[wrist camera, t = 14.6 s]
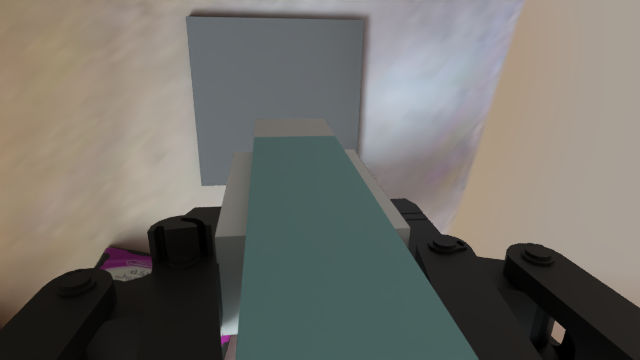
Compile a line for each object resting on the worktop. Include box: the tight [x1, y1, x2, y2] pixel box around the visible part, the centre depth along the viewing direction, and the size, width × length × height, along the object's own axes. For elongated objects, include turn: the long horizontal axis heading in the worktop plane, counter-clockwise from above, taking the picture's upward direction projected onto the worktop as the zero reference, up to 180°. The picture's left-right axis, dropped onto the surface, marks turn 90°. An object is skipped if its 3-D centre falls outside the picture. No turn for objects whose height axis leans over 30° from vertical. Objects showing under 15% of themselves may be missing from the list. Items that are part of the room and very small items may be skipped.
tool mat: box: [186, 16, 364, 186], centre depth 30 cm, size 12×12×1 cm
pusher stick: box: [235, 119, 479, 360], centre depth 12 cm, size 4×3×14 cm
